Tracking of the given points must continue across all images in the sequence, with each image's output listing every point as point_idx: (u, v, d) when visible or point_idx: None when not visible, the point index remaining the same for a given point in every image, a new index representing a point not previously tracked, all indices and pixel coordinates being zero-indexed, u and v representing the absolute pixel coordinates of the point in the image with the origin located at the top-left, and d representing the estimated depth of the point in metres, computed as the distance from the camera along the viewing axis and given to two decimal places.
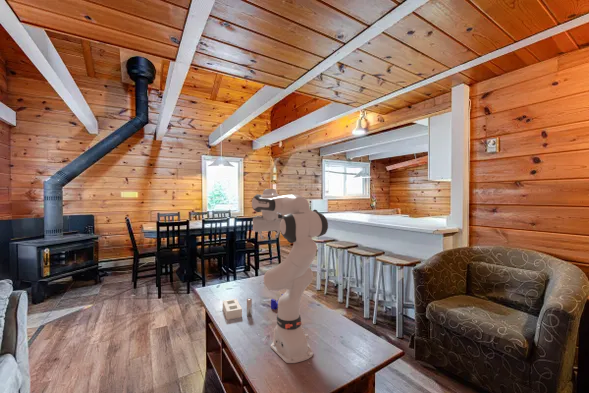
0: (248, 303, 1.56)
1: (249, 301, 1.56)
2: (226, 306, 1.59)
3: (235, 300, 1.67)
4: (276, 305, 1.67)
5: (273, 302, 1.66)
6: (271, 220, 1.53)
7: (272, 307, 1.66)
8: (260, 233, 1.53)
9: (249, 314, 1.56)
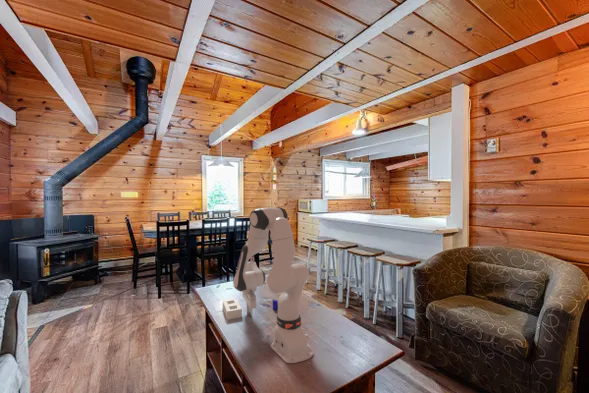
0: None
1: None
2: (226, 306, 1.59)
3: (235, 300, 1.67)
4: None
5: (275, 303, 1.65)
6: None
7: (274, 307, 1.65)
8: None
9: (249, 314, 1.56)
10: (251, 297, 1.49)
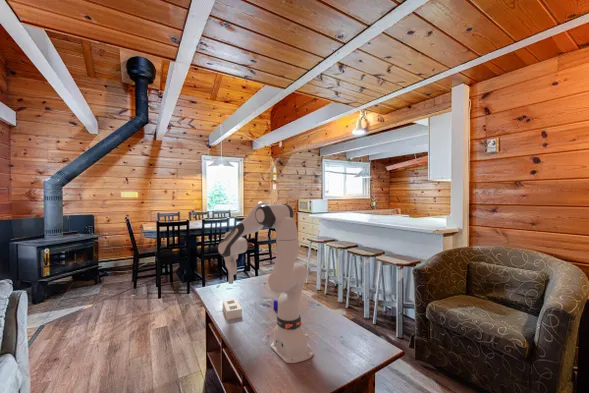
0: None
1: None
2: (226, 306, 1.59)
3: (235, 300, 1.67)
4: None
5: (276, 303, 1.65)
6: None
7: (275, 308, 1.65)
8: None
9: (230, 281, 1.63)
10: (232, 264, 1.55)
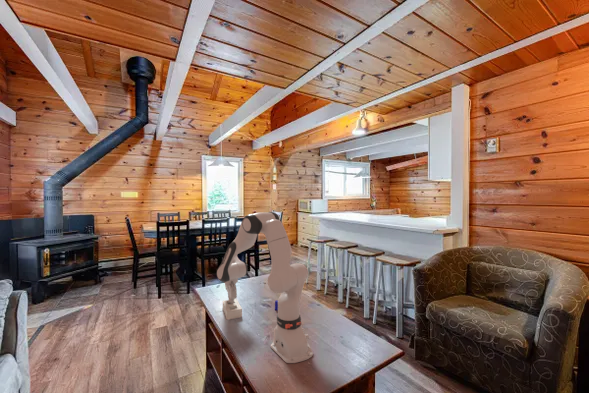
0: (230, 298, 1.63)
1: None
2: (226, 306, 1.59)
3: (235, 300, 1.67)
4: None
5: (277, 303, 1.64)
6: None
7: (277, 308, 1.64)
8: None
9: None
10: (231, 288, 1.56)
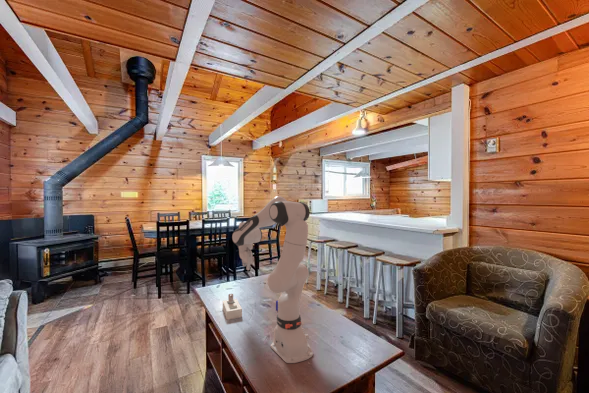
0: (229, 298, 1.63)
1: (230, 296, 1.63)
2: (226, 306, 1.59)
3: (235, 300, 1.67)
4: None
5: None
6: None
7: None
8: None
9: None
10: (247, 253, 1.55)
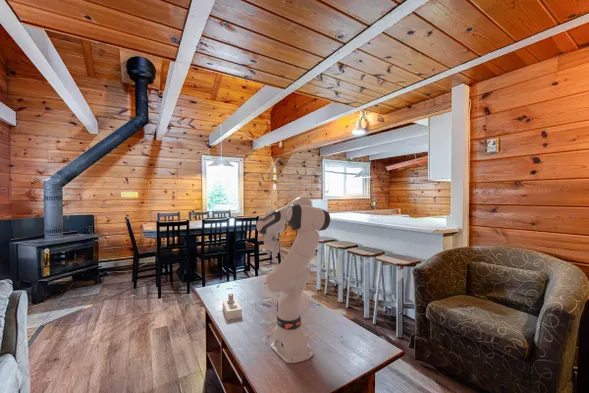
0: (229, 298, 1.63)
1: (230, 296, 1.63)
2: (226, 306, 1.59)
3: (235, 300, 1.67)
4: None
5: None
6: None
7: None
8: (276, 253, 1.60)
9: None
10: (274, 242, 1.56)
